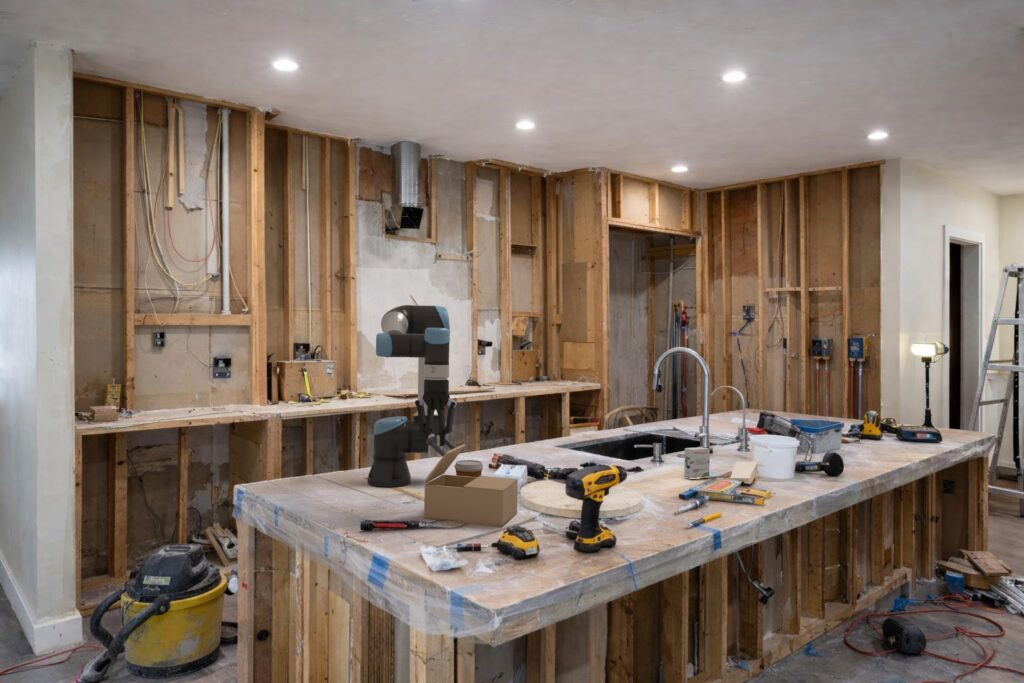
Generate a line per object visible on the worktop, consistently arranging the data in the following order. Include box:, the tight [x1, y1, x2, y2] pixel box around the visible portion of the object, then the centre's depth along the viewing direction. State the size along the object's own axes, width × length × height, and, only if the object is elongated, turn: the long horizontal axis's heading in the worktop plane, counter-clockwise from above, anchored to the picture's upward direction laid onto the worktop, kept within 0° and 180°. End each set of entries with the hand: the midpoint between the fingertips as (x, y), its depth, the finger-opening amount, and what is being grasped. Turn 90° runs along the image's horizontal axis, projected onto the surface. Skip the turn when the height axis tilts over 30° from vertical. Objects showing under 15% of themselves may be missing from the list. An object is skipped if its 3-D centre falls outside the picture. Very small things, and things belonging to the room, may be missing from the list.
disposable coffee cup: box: [454, 459, 484, 477], centre depth 224 cm, size 10×10×12 cm
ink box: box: [683, 446, 711, 479], centre depth 264 cm, size 9×5×12 cm, turn 112°
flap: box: [423, 435, 466, 484], centre depth 207 cm, size 15×12×8 cm
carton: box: [423, 473, 519, 528], centre depth 204 cm, size 15×24×11 cm, turn 74°
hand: (435, 456), depth 207 cm, fingers open, 2 cm apart
